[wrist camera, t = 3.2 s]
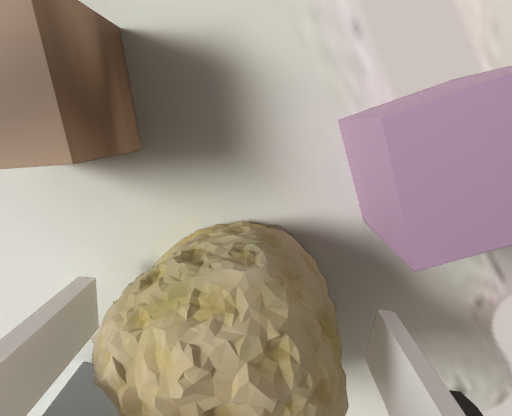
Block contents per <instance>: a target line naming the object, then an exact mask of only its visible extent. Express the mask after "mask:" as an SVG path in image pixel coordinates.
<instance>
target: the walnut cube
mask: <svg viewBox="0 0 512 416" xmlns="http://www.w3.org/2000/svg"><path fill="white" fill-rule="evenodd" d="M138 150H142V148H141V143H140V137H139V132H138V126H137V121H136V115H135V110H134V104H133V99H132V93H131V88H130V82H129V77H128V71H127V66H126V60H125V55H124V49H123V44H122V38H121V33H120V28H119V27H118V26H116V25H115V24H113V23H112V22H110V21H108V20H107V19H105V18H104V17H102V16H101V15H99V14H98V13H96V12H95V11H93V10H92V9H90V8H89V7H87V6H86V5H84V4H83V3H81V2H79V1H78V0H0V169H9V168H23V167H38V166H52V165H66V164H75V163H80V162H85V161H90V160H95V159H99V158H104V157H109V156H114V155H118V154H123V153H128V152H133V151H138Z"/></svg>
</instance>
